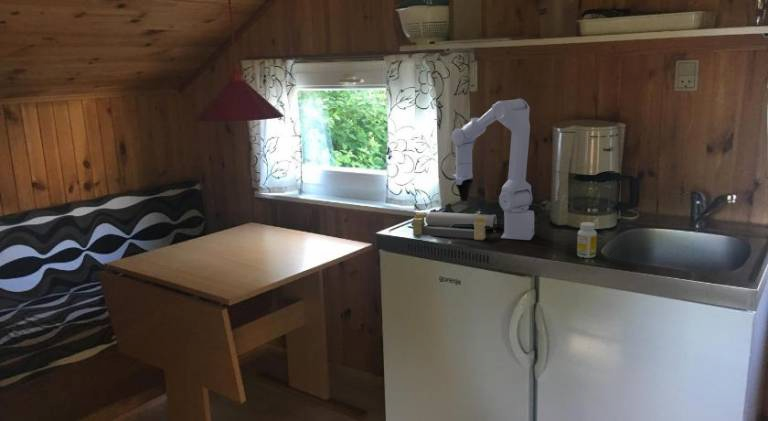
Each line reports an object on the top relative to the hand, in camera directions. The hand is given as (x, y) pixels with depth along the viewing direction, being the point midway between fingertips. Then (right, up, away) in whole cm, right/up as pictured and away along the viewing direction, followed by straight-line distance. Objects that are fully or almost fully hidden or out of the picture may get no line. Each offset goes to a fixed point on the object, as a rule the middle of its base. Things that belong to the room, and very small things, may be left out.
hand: (464, 200), depth 227 cm
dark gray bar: (-7, -12, -15) cm, 20 cm away
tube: (-2, -10, -5) cm, 11 cm away
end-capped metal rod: (-7, -12, -15) cm, 20 cm away
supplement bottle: (+31, -17, -40) cm, 53 cm away
